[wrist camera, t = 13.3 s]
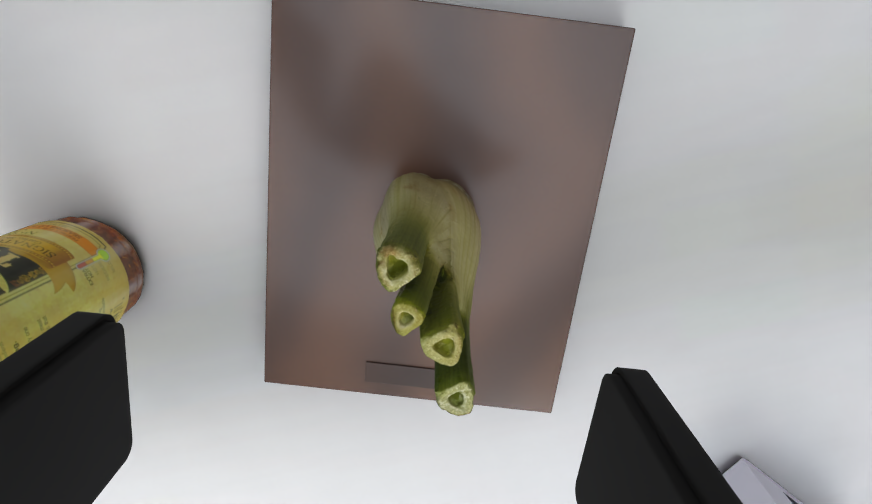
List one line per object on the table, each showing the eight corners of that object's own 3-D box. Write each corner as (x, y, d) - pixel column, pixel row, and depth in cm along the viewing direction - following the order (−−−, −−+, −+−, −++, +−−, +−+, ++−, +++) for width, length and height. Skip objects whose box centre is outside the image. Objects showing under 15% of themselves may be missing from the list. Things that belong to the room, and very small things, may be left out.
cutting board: (272, 367, 30) (263, 383, 29) (281, -14, 24) (271, -20, 23) (546, 397, 31) (551, 414, 29) (624, 31, 25) (636, 28, 23)
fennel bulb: (471, 282, 27) (494, 430, 16) (375, 275, 27) (328, 419, 16) (483, 169, 25) (518, 245, 14) (380, 161, 25) (331, 231, 14)
